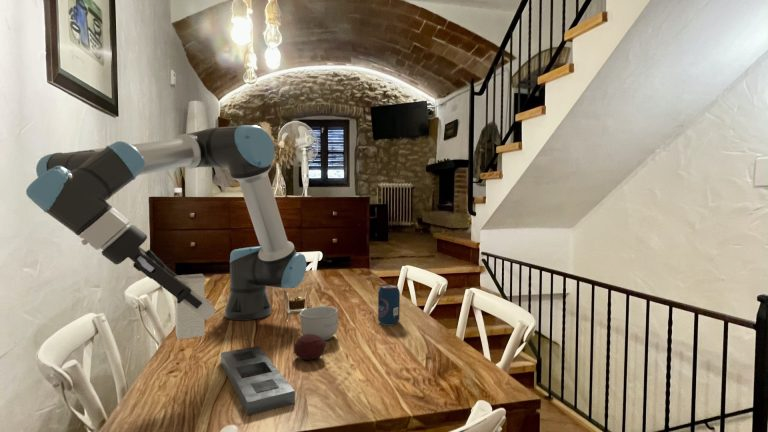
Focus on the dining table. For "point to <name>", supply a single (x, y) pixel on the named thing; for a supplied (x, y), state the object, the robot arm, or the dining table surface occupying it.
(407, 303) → the dining table surface
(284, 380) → the grey board with recesses
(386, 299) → the soda can
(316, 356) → the potato
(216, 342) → the dining table surface
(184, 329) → the grey rectangular block
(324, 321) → the teacup
